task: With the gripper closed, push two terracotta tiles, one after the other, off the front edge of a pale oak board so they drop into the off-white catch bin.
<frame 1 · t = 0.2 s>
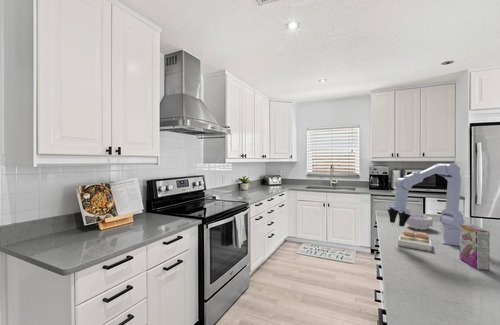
hand: (396, 224, 131), 11 cm above the countertop, tool pointing down, fingers open, 7 cm apart
catch bin: (414, 245, 129), on the countertop
oak board: (414, 239, 138), on the countertop
paper bowls: (418, 228, 163), on the countertop
terracotta tile 1: (421, 236, 137), point 2 cm above the countertop, touching oak board
candy bar box: (473, 264, 105), on the countertop
terracotta tile 2: (408, 234, 141), point 2 cm above the countertop, touching oak board
kitchen whisk: (455, 231, 158), on the countertop
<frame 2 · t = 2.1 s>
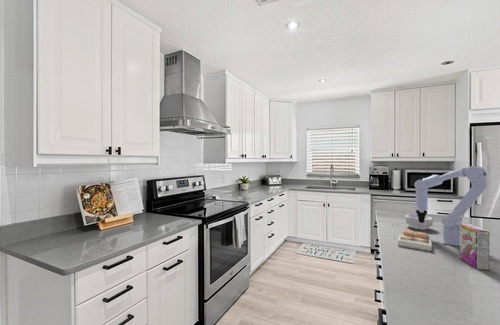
hand: (421, 222, 144), 8 cm above the countertop, tool pointing down, fingers closed
nothing on the countertop moved.
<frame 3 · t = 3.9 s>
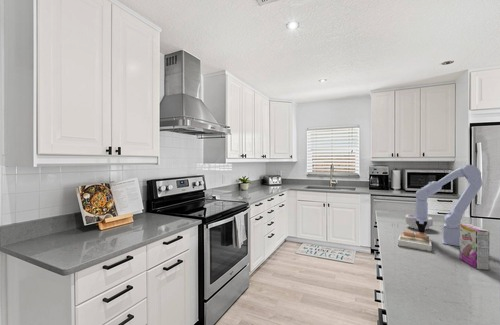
hand: (421, 233, 140), 3 cm above the countertop, tool pointing down, fingers closed
terracotta tile 1: (421, 236, 137), point 2 cm above the countertop, touching gripper, oak board
everything else where it was.
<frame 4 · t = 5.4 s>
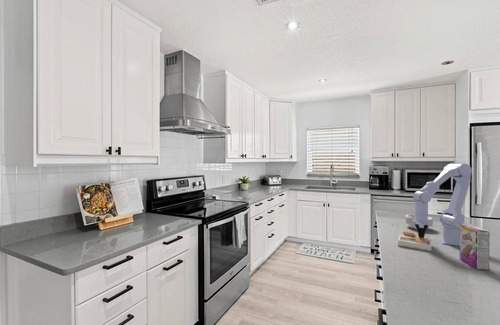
hand: (421, 238, 132), 3 cm above the countertop, tool pointing down, fingers closed
terracotta tile 1: (421, 243, 129), point 1 cm above the countertop, tilted 10°, touching gripper
everything else where it was.
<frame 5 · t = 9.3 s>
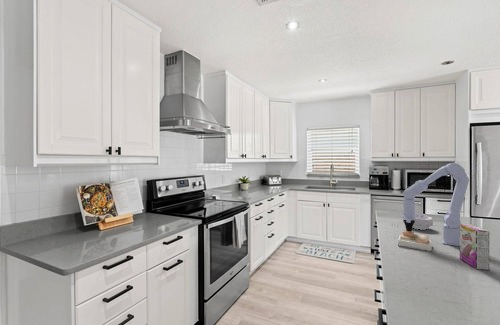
hand: (408, 232, 143), 3 cm above the countertop, tool pointing down, fingers closed
terracotta tile 1: (421, 244, 129), resting on catch bin
terracotta tile 2: (408, 235, 140), point 2 cm above the countertop
everything else where it was.
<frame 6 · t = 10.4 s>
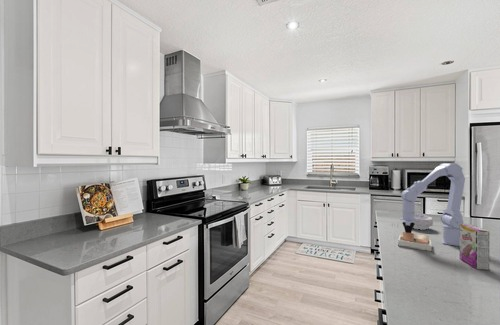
hand: (408, 235, 136), 3 cm above the countertop, tool pointing down, fingers closed
terracotta tile 2: (408, 238, 134), point 2 cm above the countertop, tilted 33°, touching catch bin, gripper
everything else where it was.
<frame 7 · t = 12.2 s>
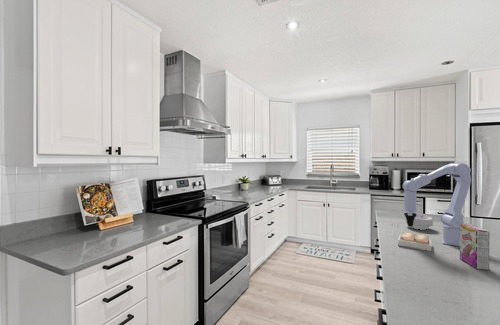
hand: (410, 226, 136), 8 cm above the countertop, tool pointing down, fingers closed
terracotta tile 2: (408, 242, 132), resting on catch bin
everything else where it was.
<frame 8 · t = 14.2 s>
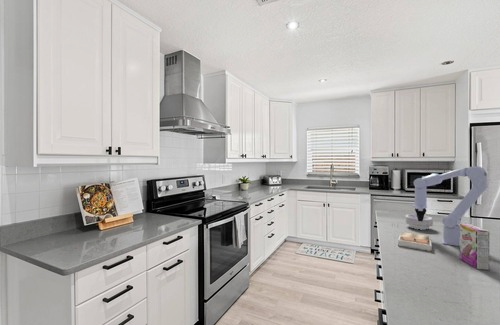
hand: (420, 221, 144), 9 cm above the countertop, tool pointing down, fingers closed
at the end: terracotta tile 1 inside the target area (4.1 cm from its centre), point 0.5 cm above the countertop; terracotta tile 2 inside the target area (3.9 cm from its centre), point 0.5 cm above the countertop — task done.
